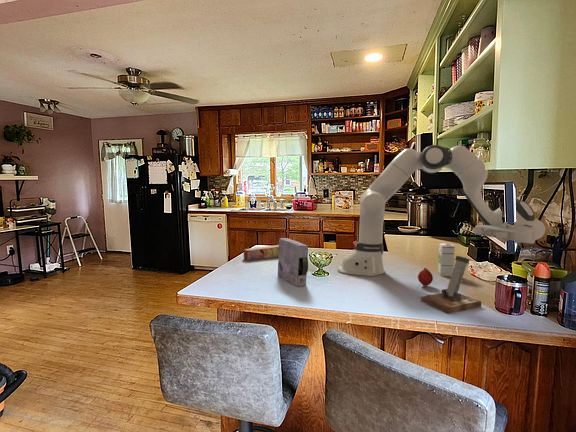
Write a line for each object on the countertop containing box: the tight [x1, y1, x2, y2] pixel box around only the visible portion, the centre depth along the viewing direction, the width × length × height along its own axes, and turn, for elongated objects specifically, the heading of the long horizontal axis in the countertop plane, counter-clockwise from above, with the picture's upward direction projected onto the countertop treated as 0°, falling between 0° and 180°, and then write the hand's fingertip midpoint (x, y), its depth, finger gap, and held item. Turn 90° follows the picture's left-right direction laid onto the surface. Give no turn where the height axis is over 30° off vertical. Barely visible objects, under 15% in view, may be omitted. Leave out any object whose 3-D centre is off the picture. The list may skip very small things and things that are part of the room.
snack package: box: [243, 244, 279, 261], centre depth 189 cm, size 21×7×7 cm, turn 117°
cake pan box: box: [277, 237, 309, 288], centre depth 147 cm, size 19×5×18 cm, turn 29°
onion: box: [417, 267, 434, 287], centre depth 141 cm, size 6×6×8 cm
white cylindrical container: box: [437, 242, 456, 277], centre depth 158 cm, size 6×6×14 cm
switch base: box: [420, 288, 482, 315], centre depth 121 cm, size 16×12×5 cm
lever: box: [446, 255, 470, 299], centre depth 121 cm, size 2×4×15 cm, turn 24°
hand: (488, 234), depth 128 cm, fingers open, 4 cm apart
